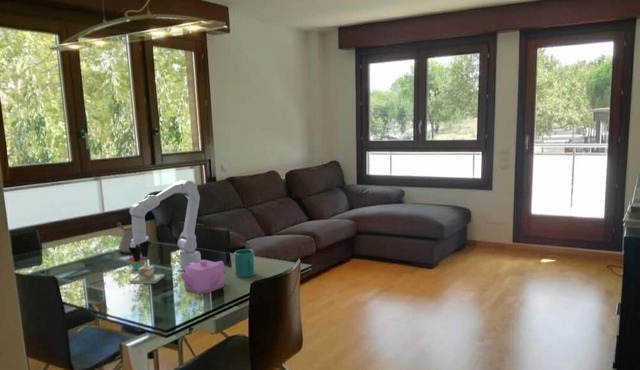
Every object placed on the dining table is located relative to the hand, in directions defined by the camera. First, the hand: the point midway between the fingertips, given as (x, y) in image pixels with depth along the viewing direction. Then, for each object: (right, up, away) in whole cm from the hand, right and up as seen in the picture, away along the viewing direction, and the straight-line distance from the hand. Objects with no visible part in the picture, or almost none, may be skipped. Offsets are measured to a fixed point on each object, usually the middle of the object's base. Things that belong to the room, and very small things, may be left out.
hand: (141, 258), depth 218 cm
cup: (+49, -8, +2) cm, 49 cm away
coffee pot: (-30, -4, +56) cm, 63 cm away
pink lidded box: (+33, -11, -14) cm, 37 cm away
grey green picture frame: (+3, -10, 0) cm, 10 cm away
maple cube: (+3, -9, 0) cm, 9 cm away
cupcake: (-8, -8, +18) cm, 21 cm away
